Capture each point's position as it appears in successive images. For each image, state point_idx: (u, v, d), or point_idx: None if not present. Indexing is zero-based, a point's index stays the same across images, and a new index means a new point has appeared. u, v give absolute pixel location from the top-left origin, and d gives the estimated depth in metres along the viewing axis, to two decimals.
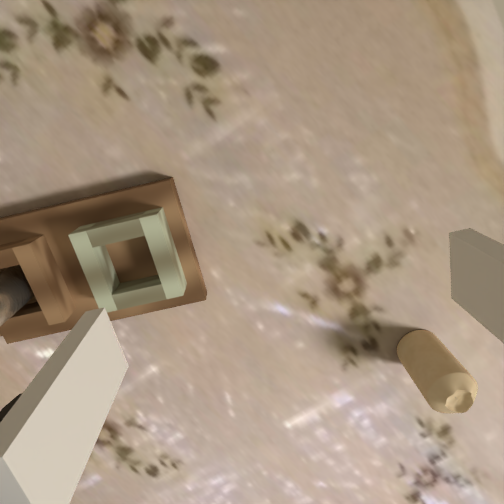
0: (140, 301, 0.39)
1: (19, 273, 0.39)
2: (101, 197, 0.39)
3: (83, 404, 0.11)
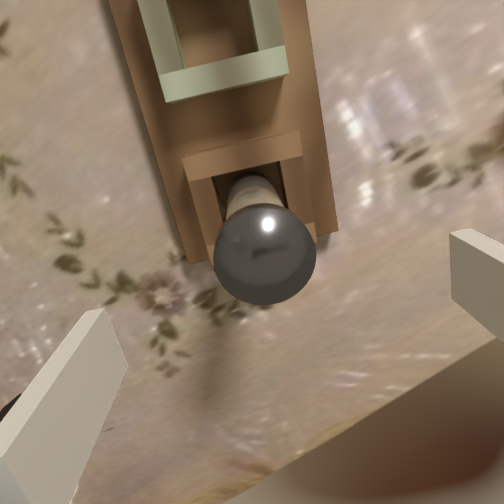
0: (271, 2, 0.25)
1: (230, 187, 0.30)
2: (129, 66, 0.29)
3: (83, 404, 0.11)
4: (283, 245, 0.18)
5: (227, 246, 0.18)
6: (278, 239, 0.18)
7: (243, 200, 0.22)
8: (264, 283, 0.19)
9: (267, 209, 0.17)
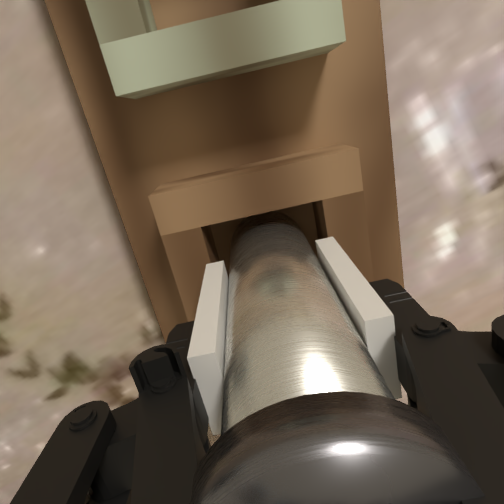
0: None
1: (235, 240, 0.18)
2: (58, 33, 0.16)
3: None
4: None
5: None
6: None
7: (264, 313, 0.10)
8: None
9: (365, 455, 0.05)
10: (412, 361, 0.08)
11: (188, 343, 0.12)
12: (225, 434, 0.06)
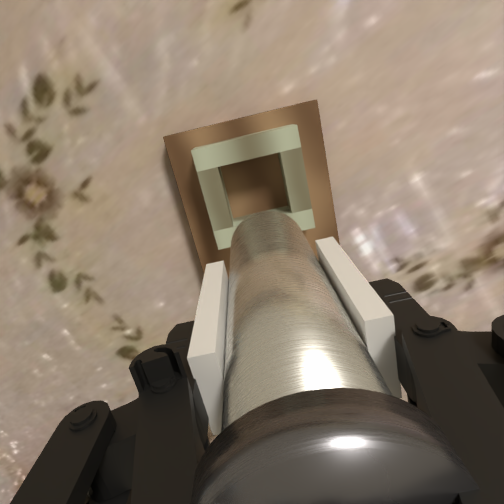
0: (302, 180, 0.32)
1: (235, 239, 0.18)
2: (187, 213, 0.36)
3: None
4: None
5: None
6: None
7: (264, 311, 0.10)
8: None
9: (363, 449, 0.05)
10: (412, 361, 0.08)
11: (188, 343, 0.12)
12: (225, 430, 0.06)
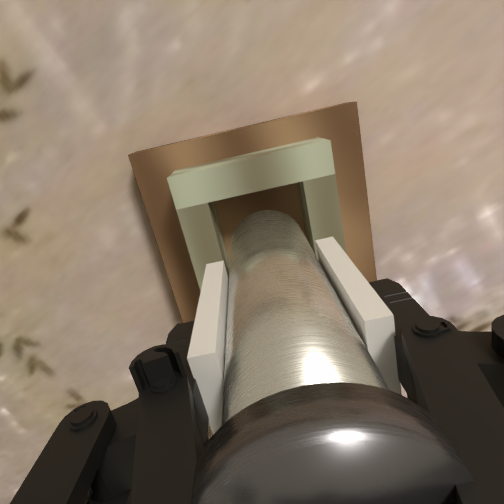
0: (334, 222, 0.22)
1: (235, 238, 0.18)
2: (165, 263, 0.25)
3: None
4: None
5: None
6: None
7: (263, 309, 0.10)
8: None
9: (360, 441, 0.05)
10: (412, 361, 0.08)
11: (188, 343, 0.12)
12: (225, 424, 0.06)
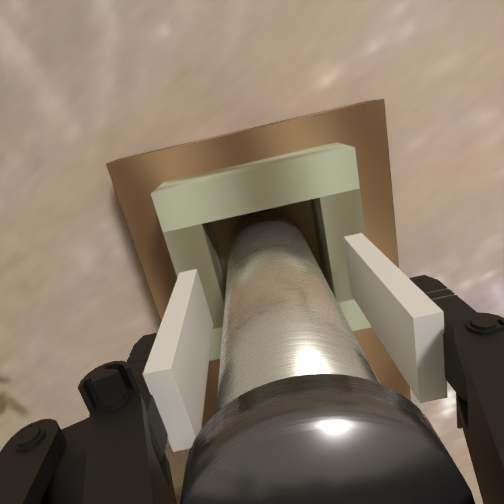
0: None
1: (233, 237, 0.19)
2: (152, 291, 0.21)
3: (198, 345, 0.13)
4: None
5: None
6: (370, 500, 0.06)
7: (258, 305, 0.10)
8: None
9: (343, 428, 0.05)
10: (465, 357, 0.08)
11: None
12: (217, 413, 0.07)
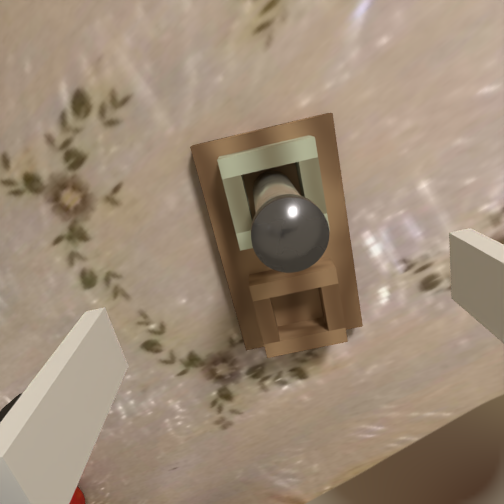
0: (318, 187, 0.35)
1: (256, 183, 0.36)
2: (210, 217, 0.39)
3: (83, 404, 0.11)
4: (304, 226, 0.24)
5: (262, 226, 0.24)
6: (300, 221, 0.24)
7: (271, 193, 0.28)
8: (289, 256, 0.24)
9: (293, 198, 0.23)
10: None
11: None
12: (261, 206, 0.24)
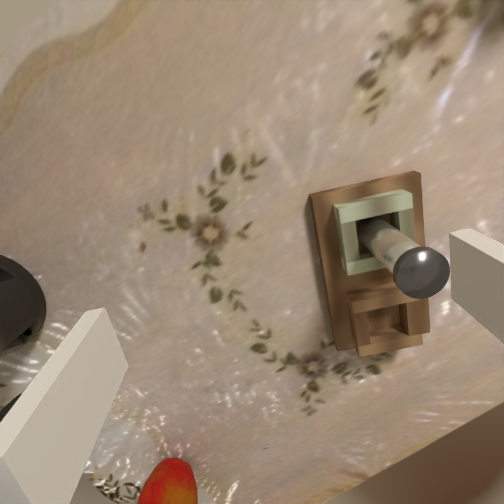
0: (411, 229, 0.47)
1: (362, 225, 0.48)
2: (321, 249, 0.51)
3: (83, 404, 0.11)
4: (433, 268, 0.36)
5: (406, 269, 0.35)
6: (431, 265, 0.35)
7: (395, 240, 0.40)
8: (421, 288, 0.36)
9: (428, 250, 0.35)
10: None
11: None
12: (402, 254, 0.36)
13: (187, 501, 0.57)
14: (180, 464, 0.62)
